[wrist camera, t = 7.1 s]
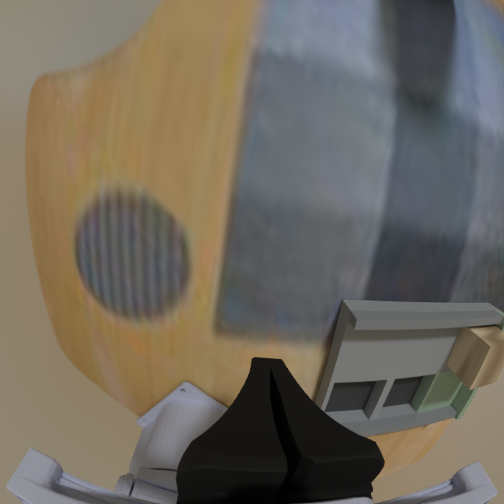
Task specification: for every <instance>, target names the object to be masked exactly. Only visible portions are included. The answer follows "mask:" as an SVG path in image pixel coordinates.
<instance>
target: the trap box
mask: <svg viewBox="0 0 504 504" xmlns="http://www.w3.org/2000/svg"><path fill="white" fill-rule="evenodd" d="M492 324H494V325H495V326H496V327H498V328H499V329H500V330H502V331H503V332H504V313H503V312H501V311H500V310H498V309H497V308H495V307H494V306H492V305H491V304H489V303H432V302H393V301H368V300H348V299H342V304H341V308H340V313H339V317H338V321H337V325H336V329H335V333H334V337H333V341H332V345H331V349H330V352H329V356H328V360H327V363H326V367H325V370H324V374H323V377H322V381H321V384H320V387H319V390H318V394H317V397H316V400H315V404H316V405H317V406H318V407H319V408H320V409H322V410H323V411H324V412H325V413H326V414H327V415H329V416H330V417H331V418H333V419H334V420H335V421H337V422H338V423H340V424H341V425H343V426H344V427H346V428H348V429H349V430H351V431H353V432H355V433H357V434H359V435H361V436H363V437H364V436H371V435H378V434H384V433H390V432H395V431H401V430H406V429H410V428H415V427H419V426H424V425H428V424H432V423H435V422H439V421H443V420H446V419H450V418H453V417H455V419H460V418H461V417H462V416H463V414H464V412H465V411H466V409H467V407H468V406H469V404H470V403H471V401H472V399H473V398H474V396H475V394H476V392H477V391H478V389H479V387H478V388H475V389H471V390H469V389H468V388H467V387H466V386H465V385H464V383H463V382H462V381H461V380H460V379H459V378H458V377H457V375H456V374H455V373H454V372H453V371H452V370H451V369H450V368H449V367H448V365H447V364H446V363H447V361H448V359H449V357H450V354H451V352H452V350H453V347H454V345H455V342H456V340H457V337H458V335H459V332H460V329H461V327H469V326H481V325H492Z"/></svg>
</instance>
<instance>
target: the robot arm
mask: <svg viewBox="0 0 504 504" xmlns="http://www.w3.org/2000/svg"><path fill="white" fill-rule="evenodd" d="M182 389H185V390H182ZM137 424H138V425H139V426H141V427H143V430H142V433H141V436H140V438H139V441H138V444H137V446H136V449H135V452H134V454H133V457H132V460H131V463H130V467H129V473H127V475H122V476H120V477H119V479H118V482H117V484H116V486H115V490H114V491H112V490H109V489H106V488H103V487H101V486H98V485H95V484H92V483H90V482H87V481H85V480H82V479H80V478H77V477H75V476H73V475H71V474H69V473H66V472H64V471H63V469H62V468H61V466H60V464H59V463H58V462H57V461H55V460H54V459H52V458H51V457H49V456H47V455H45V454H43V453H41V452H39V451H37V450H36V449H34V448H30V449H29V450H28V452H27V453H26V455H25V456H24V458H23V460H22V461H21V463H20V464H19V466H18V468H17V469H16V471H15V472H14V474H13V476H12V478H11V479H10V481H9V482H8V484H7V486H6V487H7V489H8V490H9V491H10V492H11V493H12V494H13V495H14V496H15V497H16V498H17V499H18V500H19V501H20V502H21V503H22V504H374V503H373V500H372V497H371V493H372V491H373V487H372V484H371V482H372V481H373V480H374V479H375V478H376V477H377V475H378V474H379V473H380V472H381V470H382V468H383V467H384V463H385V461H384V459H383V456H382V454H381V451H380V449H379V447H378V446H377V444H376V442H375V441H372V440H370V439H368V438H365V437H363V436H361V435H359V434H357V433H355V432H353V431H351V430H349V429H348V428H346V427H344V426H343V425H341V424H340V423H338V422H337V421H335V420H334V419H333V418H331V417H330V416H329V415H327V414H326V413H325V412H324V411H323V410H322V409H320V408H319V407H318V406H317V405H316V404H315V403H314V402H313V401H312V400H311V399H310V398H309V396H308V395H307V394H306V393H305V392H304V391H303V389H302V388H301V387H300V386H299V384H298V383H297V382H296V380H295V379H294V377H293V376H292V374H291V373H290V371H289V370H288V368H287V367H286V365H285V363H284V362H283V361H282V359H272V358H259V357H254V358H253V359H252V361H251V368H250V372H249V375H248V377H247V379H246V381H245V384H244V386H243V387H242V389H241V391H240V393H239V394H238V396H237V397H236V399H235V400H234V402H233V403H232V404H231V406H230V407H229V408H227V407H225V406H224V405H222V404H220V403H219V402H217V401H216V400H214V399H213V398H211V397H210V396H208V395H207V394H205V393H204V392H202V391H201V390H199V389H198V388H196V387H195V386H193V385H192V384H190V383H189V382H183V383H182V384H181V385H179V386H178V387H177V388H176V389H174V390H173V391H172V392H171V393H170V394H168V395H167V396H166V397H165V398H163V399H162V400H161V401H160V402H159V403H157V404H156V405H155V406H154V407H152V408H151V409H150V410H149V411H147V412H146V413H145V414H143V415H142V416H141V417H140V418H138V419H137ZM497 493H498V492H497V490H496V488H495V487H494V485H493V484H492V482H491V480H490V479H489V477H488V475H487V474H486V472H485V471H484V469H483V467H482V466H481V464H480V463H479V461H476V462H474V463H472V464H470V465H468V466H465V467H464V468H462V469H460V470H459V471H458V472H457V473H456V474H455V475H454V476H453V477H452V479H450V480H448V481H445V482H443V483H440V484H437V485H435V486H432V487H429V488H427V489H424V490H421V491H418V492H415V493H412V494H409V495H405V496H402V497H398V498H395V499H392V500H387V501H383V502H379V503H375V504H487V503H488V502H489V501H490V500H491V499H492V498H494V497H495V496H496V495H497Z"/></svg>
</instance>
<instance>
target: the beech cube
mask: <svg viewBox="0 0 504 504" xmlns="http://www.w3.org/2000/svg"><path fill="white" fill-rule="evenodd" d="M446 364H447V365H448V367H449V368H450V369H451V370H452V371H453V372H454V373H455V374H456V375H457V377H458V378H459V379H460V380H461V381H462V382H463V383H464V385H465V386H466V387H467V388H468V389H469V390H471V389H475V388H478V387H482V386H485V385H488V384H491V383H494V382H497V380H498V378H499V376H500V374H501V372H502V370H503V368H504V332H503V331H502V330H500V329H499V328H498V327H496V326H495V325H494V324H492V325H481V326H469V327H461V329H460V332H459V335H458V337H457V340H456V342H455V345H454V347H453V350H452V352H451V354H450V357H449V359H448V361H447V363H446Z"/></svg>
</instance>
